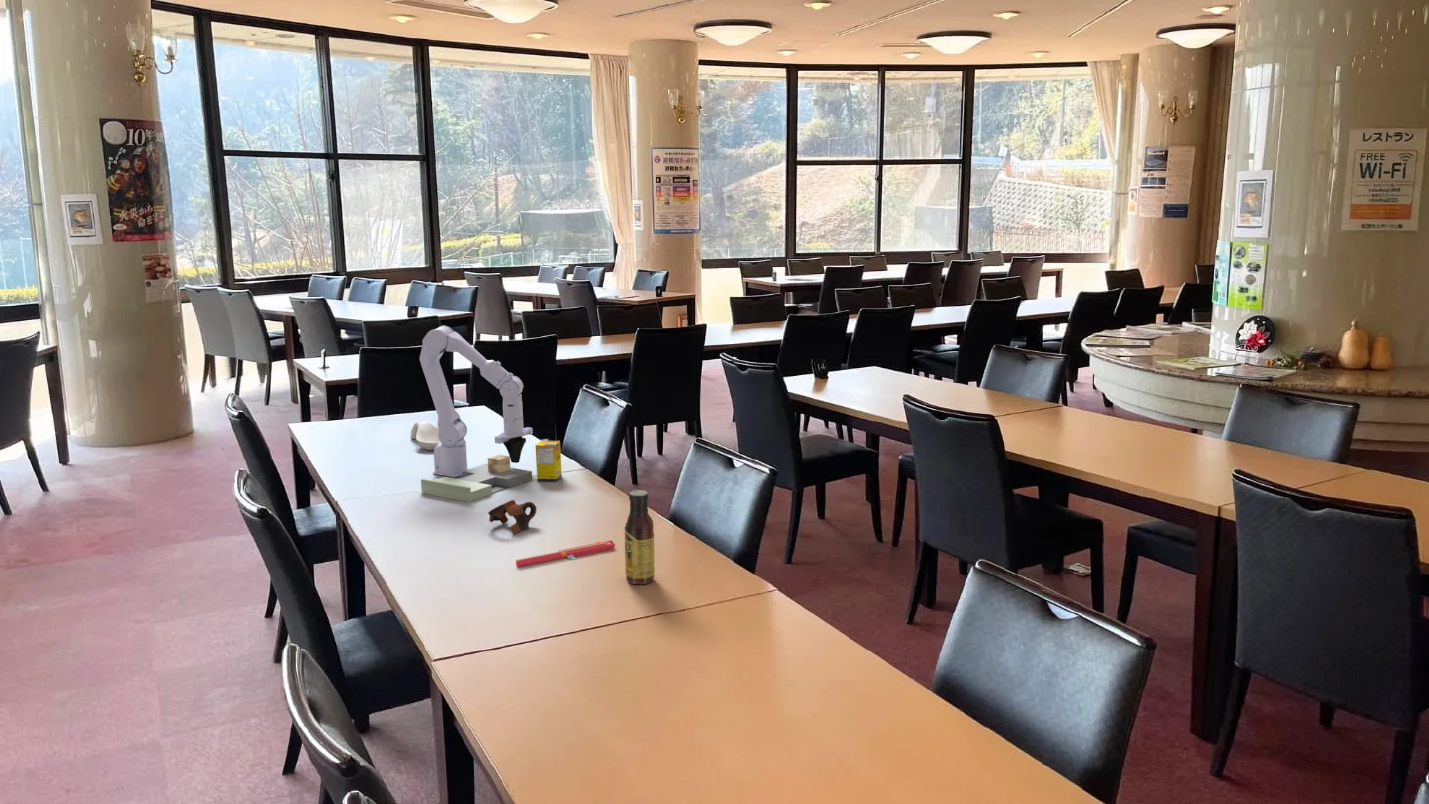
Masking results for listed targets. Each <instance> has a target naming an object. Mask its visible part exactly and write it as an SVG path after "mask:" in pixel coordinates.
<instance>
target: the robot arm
mask: <svg viewBox="0 0 1429 804" xmlns="http://www.w3.org/2000/svg"><path fill="white" fill-rule="evenodd" d="M445 351H446V352H451V353H453V352H454V353H458V354H460V355H461V356H462V357H464V358H465V359H466V360H468V361H469V362H470V363H471V364H473V365H474V366H475V367H476V368H478V369H479V372H480V376H481V377H482V378H484V379H485V380H486V381H488V382H489V383H490V384H491V385H493V386H494V387H495V388H496V389H499V393H500V395H501V396H502V415H503V418H502V419H503V432H502V433H500V434H498V435H496V436H494V443H495V444H500V445H501V444H503V445H504V447H505V448H506V450H507V453H508V456H510V463H515V464H517V463H520V460H521V455H522V452H523V448H524V446H525V444H526V442H527V438H525V436H528V435H533V433H534V432H533V427H529V426H528V427H524V414H523V411H524V410H523V400H522V399H523V398H522V392H523V389H524V383H523V381H522V380H521V379H520V377H518V376H516V375H514V374H513V373H512V372H509V371H507V369H505V368H504V367H503V366H502V363H501V362H500V361H499V360H497V361H495V360H494V359H490V360H489V359H486V358H485V356H483V355H482V354H481V353H480V352H479V351H478V350H477V349H476V348H474V347H473V346H472V345H471V344H470V342H468V341H466V340H465V338H463V336H462V335H461V334H459V333H458V332H457V331H454V329H452V328H451V327H449V326H447V325H440V326H438V327H437V328H434V329H431V330H429V331H428V332H427V333H426V335H425V336H424V337H423V339H422V346H421V351H420V355H419V362H420V365H421V366H420V367H421V368H422V372H423V374H424V377H425V380H426V383H427V386H428V389H429V392H430V395H431V398H432V401H433V405H434V409H435V411H436V414H437V427H438V428H439V433H438V438H439V440H440V442H441V443H439V444H438V445H437V446H436V447H435V449H434V450H433V461H434V462H433V463H434V464H433V465H434V471H433V472H432V474H434V475H441V476H444V477H449V478H458V477H461V476H463V475H462V471H465V470H468V469H469V468H468V460H467V458H468V457H467V444H466V439H465V437H466V435H467V433H468V427H467V424H466V423H465V422H464V421H463V420H462V418H461V415H460V414H459V413H458V412H457V410H456V408H455V406H454V405H455V404H454V403H453V399H452V396H451V393H450V390H449V387H448V385H447V381H446V378H445V375H444V372H443V369H442V366H441V363H440V359H441V358H442V356H443V354H444V352H445Z"/></svg>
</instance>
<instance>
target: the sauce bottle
mask: <svg viewBox="0 0 1429 804" xmlns="http://www.w3.org/2000/svg"><path fill="white" fill-rule="evenodd" d="M628 499H629V513H628V516H627V520H626V524H625V526H624V555H625V556H624V558H625V561H624V562H625V564H624V565H625V566H624V567H625V574H626V576H625V579H626V581H627V582H629V583H630V584H631V585H647V584H650V583H652V582H653V581H654V578H655V574H656V573H655V532H654V520H653V519H652V517H651V516H650V514H649V508H648V507H649V506H648V504H649V503H648V501H649V492H648V491H647V490H644V489H636V490H632V491H630V492H629V494H628Z"/></svg>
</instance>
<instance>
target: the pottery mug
mask: <svg viewBox="0 0 1429 804" xmlns="http://www.w3.org/2000/svg"><path fill="white" fill-rule="evenodd" d="M528 508H530V511H529V513H528V514H527V513H526V512H527V509H528ZM537 510H538V509H537V506H536V504H535V503H534V502H533V501H526V502H524V503H521V504H518V503H517V502H516V500H515V499H510V500H509V501H506V502H504V503H501V504H500V505H498V506H496V507H494V508H493V509H491V510H490V511H488V512H487V514H488V515H489V519H488V521H489V522H490V523H493V522H494V521H495V522H497V521H498V522H500V523H501V524H503V525H505V524H506V523H508V522H509V518H508V517H507V515H508V516H510V517H513V518H514V521H515V523H514V524H512V525H510V526H509V528H510V530H511V532H512V534H513V535H516V534H518V533H520V532H522V531H526V530H529V529H530V526H529V523H530V521H531V520H532V519H533V518H534V517H535V516H536V514H537ZM506 513H507V514H506Z"/></svg>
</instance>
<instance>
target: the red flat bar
mask: <svg viewBox="0 0 1429 804" xmlns="http://www.w3.org/2000/svg"><path fill="white" fill-rule="evenodd" d="M615 546H616V543H614V541H613V540H612V539H611V540H605V541H596V542H595V543H591V544H587V545H580V546H575V547H569V548H566V549H560V550H558V551H554V552H550V553H544V554H539V555H534V556H528V557H523V558H519V559H516V560H515V564H516V565H515V566H516V567H517V568H521V567H525V566H526V567H527V566H531V565H536V564H541V563H545V562H546V563H547V562H551V561H552V562H553V561H556V560H561V559H563V558H567V559H569V560H573V561H575V560H577V558H576V557H578V556H583V555H584V556H585V555H589V554H595V553H600V552H604V551H608V550H613V549H615Z"/></svg>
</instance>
